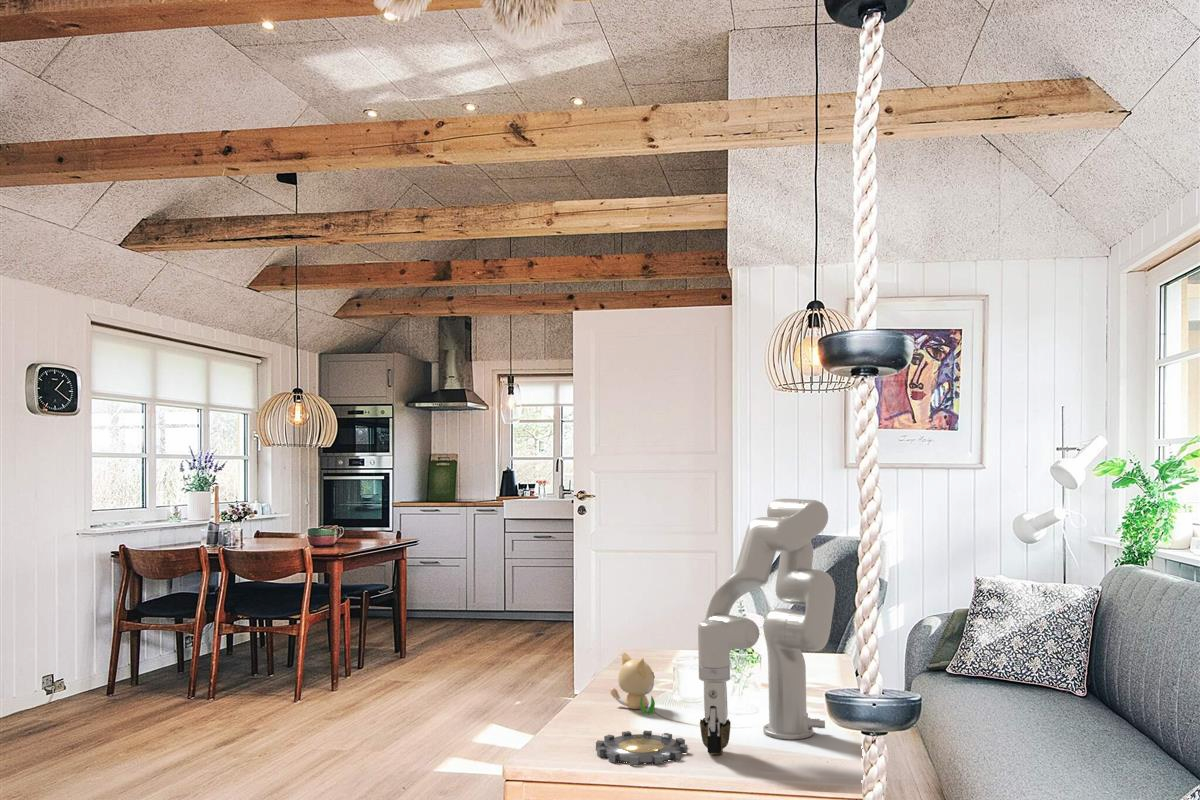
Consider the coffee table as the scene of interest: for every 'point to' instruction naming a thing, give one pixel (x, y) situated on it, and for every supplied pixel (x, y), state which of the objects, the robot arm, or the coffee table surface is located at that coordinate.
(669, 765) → the coffee table surface
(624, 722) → the coffee table surface
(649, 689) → the kitten
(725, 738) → the cup
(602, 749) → the gear
